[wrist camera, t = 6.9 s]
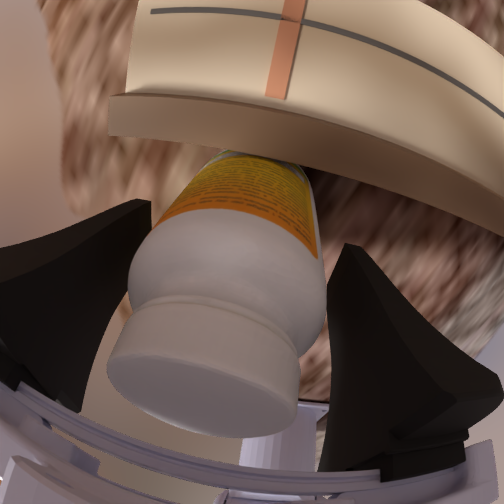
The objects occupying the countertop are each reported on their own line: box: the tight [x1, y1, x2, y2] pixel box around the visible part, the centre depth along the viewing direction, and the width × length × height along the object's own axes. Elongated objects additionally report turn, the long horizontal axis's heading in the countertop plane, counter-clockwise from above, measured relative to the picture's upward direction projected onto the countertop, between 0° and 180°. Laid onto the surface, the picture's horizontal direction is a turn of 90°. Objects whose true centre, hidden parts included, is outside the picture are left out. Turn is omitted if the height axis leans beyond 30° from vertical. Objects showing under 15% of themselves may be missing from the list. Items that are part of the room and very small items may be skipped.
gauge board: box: [108, 0, 504, 237], centre depth 8 cm, size 8×21×2 cm, turn 80°
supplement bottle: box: [107, 149, 327, 438], centre depth 9 cm, size 5×5×10 cm
